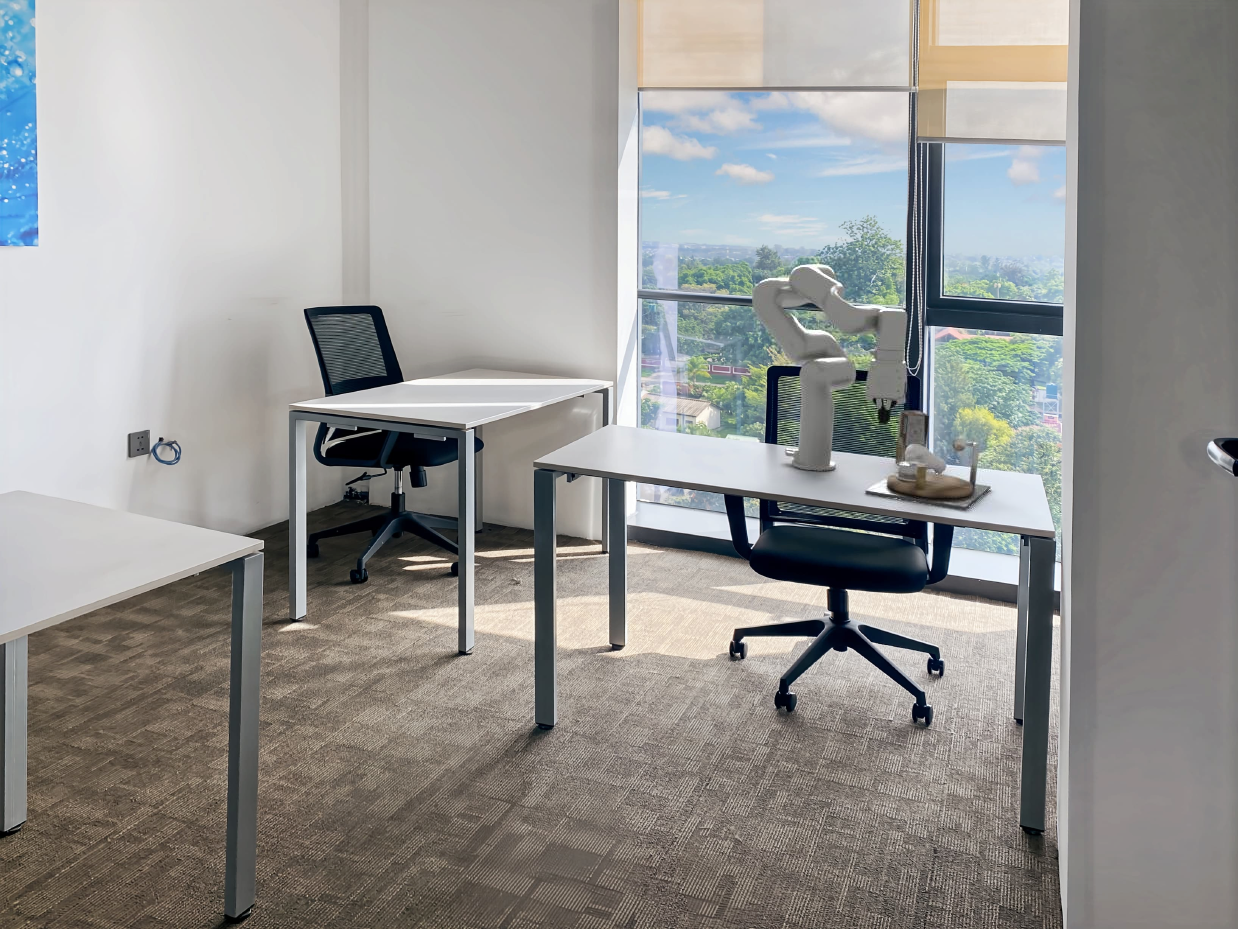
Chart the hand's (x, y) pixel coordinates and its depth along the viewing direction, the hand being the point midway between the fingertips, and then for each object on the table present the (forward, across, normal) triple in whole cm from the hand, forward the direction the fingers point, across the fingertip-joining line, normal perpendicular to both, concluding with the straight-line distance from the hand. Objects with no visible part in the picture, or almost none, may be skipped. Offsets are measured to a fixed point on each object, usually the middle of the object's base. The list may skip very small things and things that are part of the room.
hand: (883, 423), depth 282 cm
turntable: (+16, +14, 0) cm, 21 cm away
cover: (+14, +9, 0) cm, 17 cm away
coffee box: (+17, 0, +27) cm, 32 cm away
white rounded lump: (+17, +7, +20) cm, 27 cm away
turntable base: (+17, +14, 0) cm, 22 cm away
